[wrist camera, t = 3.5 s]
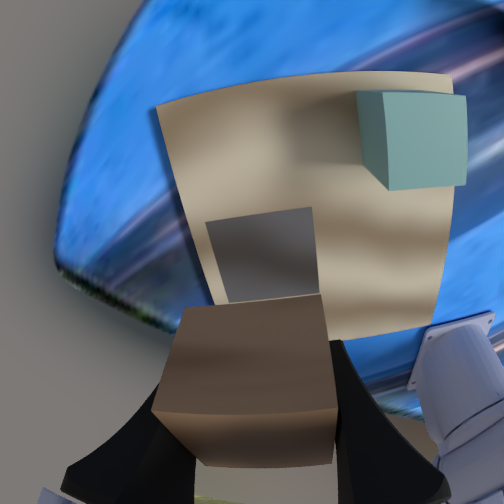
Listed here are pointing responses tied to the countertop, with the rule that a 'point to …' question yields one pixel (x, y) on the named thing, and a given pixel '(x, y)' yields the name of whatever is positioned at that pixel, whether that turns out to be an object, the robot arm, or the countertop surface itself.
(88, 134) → the countertop surface
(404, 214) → the baseplate
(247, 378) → the walnut block
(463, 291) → the countertop surface
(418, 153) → the teal block
